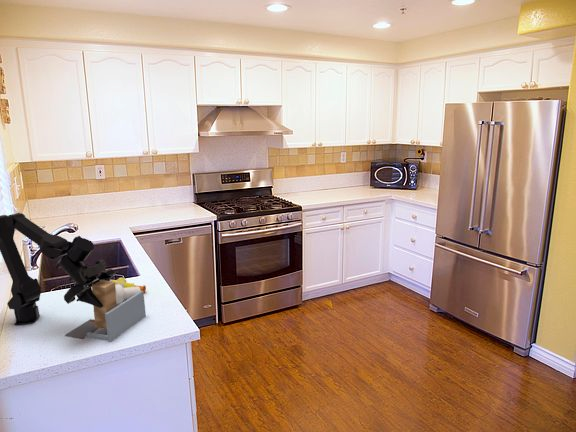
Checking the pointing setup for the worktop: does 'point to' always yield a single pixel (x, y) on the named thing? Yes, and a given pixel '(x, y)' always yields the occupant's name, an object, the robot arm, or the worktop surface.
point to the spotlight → (125, 293)
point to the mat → (82, 330)
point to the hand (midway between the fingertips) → (107, 303)
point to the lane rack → (122, 317)
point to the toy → (127, 284)
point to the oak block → (103, 301)
